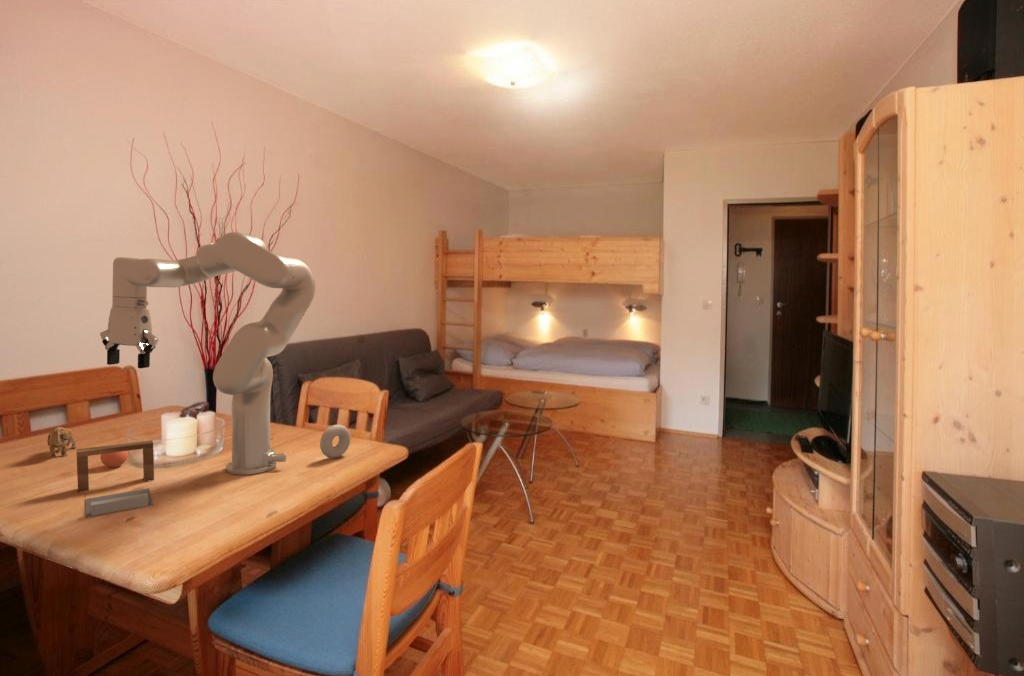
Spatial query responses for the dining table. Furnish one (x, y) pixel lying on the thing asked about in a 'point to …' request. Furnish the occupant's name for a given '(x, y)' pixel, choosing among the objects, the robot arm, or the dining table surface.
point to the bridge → (85, 452)
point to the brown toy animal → (60, 440)
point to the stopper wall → (119, 504)
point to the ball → (114, 458)
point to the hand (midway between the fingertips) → (128, 365)
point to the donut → (328, 438)
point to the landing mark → (95, 499)
